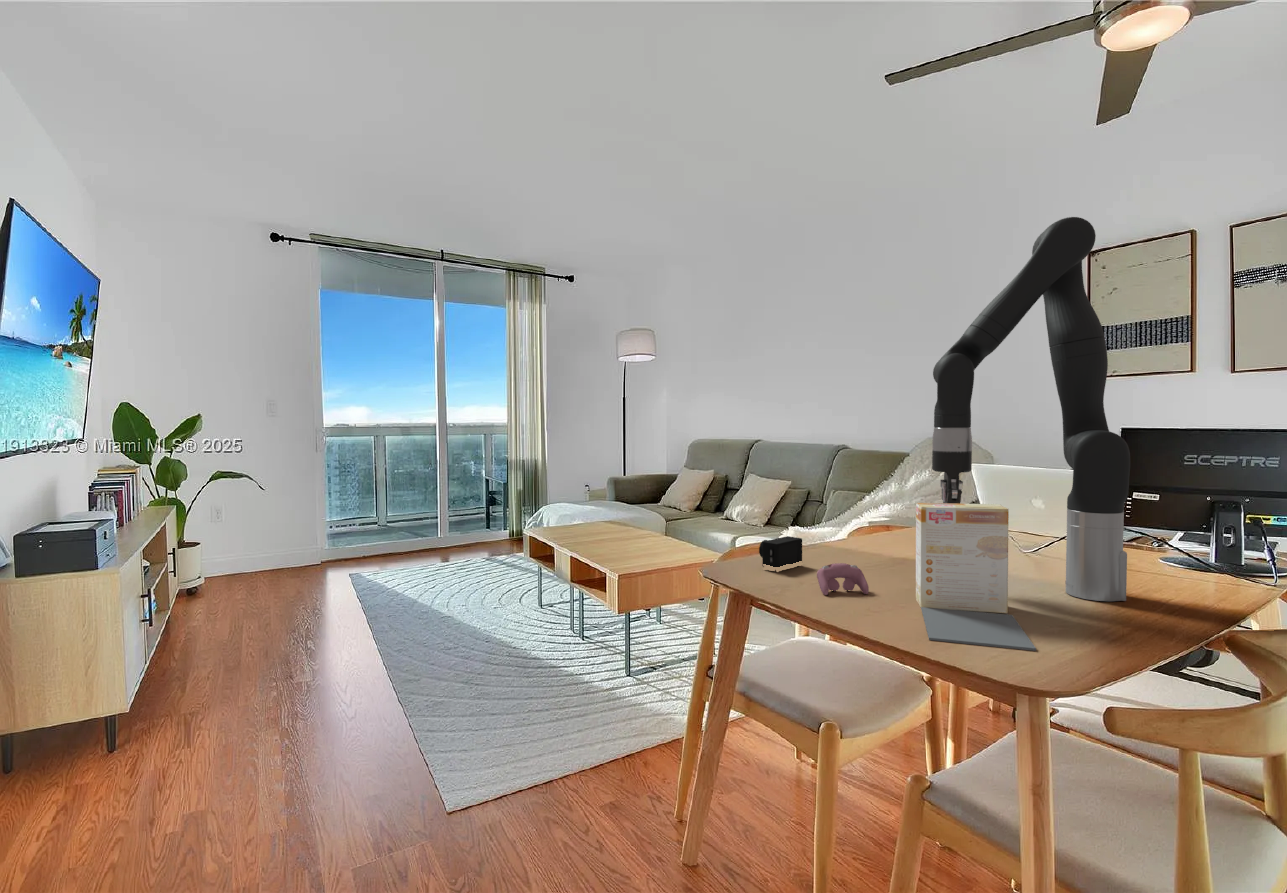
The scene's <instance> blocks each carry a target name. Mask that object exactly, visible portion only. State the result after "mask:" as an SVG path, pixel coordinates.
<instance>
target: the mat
mask: <svg viewBox="0 0 1287 893" xmlns="http://www.w3.org/2000/svg"><path fill="white" fill-rule="evenodd" d="M920 610H921V613H922V617H923V622H924V625H925V629H926V633H927V637H928V640H929V641H933V642H934V641H936V642H943V643H954V644H955V643H956V644H963V645H964V644H965V645H974V646H983V647H984V646H985V647H991V648H992V647H994V648H995V647H996V648H1003V649H1011V650H1012V649H1013V650H1014V649H1015V650H1022V651H1023V650H1024V651H1030V652H1031V651H1034V652H1037V648H1036V646H1035V645H1034V643H1033V642H1032V640H1030V638H1029V636H1028V635H1027V633H1025V630H1024V629H1023V628H1022V626H1021V625H1020V624H1019V622H1018V621H1017V619H1016V618H1015V617H1014V615H1013V614H1008V613H1007V614H1006V613H992V612H977V611H961V610H949V609H938V608H926V607H920Z"/></svg>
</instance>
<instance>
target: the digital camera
mask: <svg viewBox="0 0 1287 893" xmlns="http://www.w3.org/2000/svg"><path fill="white" fill-rule="evenodd" d="M758 554H759V555H760V557H761V558H762V560H761V562H762V565H763V564H766V565H770V566H773V567H780V566H783V565H786V564H793V563H796V562H799V561H802V562H803V538H802V537H796V536H788V535H787V536H783V537H777V538H774V539H769V540H768V539H764V540H762V541H761V542H760V544H759V546H758Z"/></svg>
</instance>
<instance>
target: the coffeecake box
mask: <svg viewBox="0 0 1287 893" xmlns="http://www.w3.org/2000/svg"><path fill="white" fill-rule="evenodd" d="M1009 510H1010V509H1009V508H1008V507H1005V506H1003V505H1002V504H998V503H960V504H958V503H943V502H916V505H915V600H916V602H917V603H918V605H919V607H920V608H921V607H926V608H938V609H949V610H961V611H972V612H984V613H995V614H1007V615H1008V612H1009V611H1008V609H1009Z"/></svg>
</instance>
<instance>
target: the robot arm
mask: <svg viewBox="0 0 1287 893" xmlns="http://www.w3.org/2000/svg"><path fill="white" fill-rule="evenodd" d="M1096 235H1097V234H1096V231H1095V229H1094V226H1093V224H1092V223H1091V222H1090V221H1089V220H1087V219H1084V218H1082V217H1078V216H1071V217H1070V216H1069V217H1064V218H1060V219H1059V220H1057V221H1055V222H1053V223H1052V224H1050V225H1049V226H1048V227H1047V228H1046V229H1045V230H1043V232H1041V233H1040V234H1039V236H1037V238H1036V240H1035V241H1034V243H1033V246H1032V250H1031V251H1032V252H1031V257H1030V258H1029V259H1028V260H1027V262H1026V264H1025V265H1024V266H1023V267H1022V269H1021V270H1020V271H1019V272H1018V273H1017V275H1016V276H1014V278H1013V279H1012V280H1011V281H1010V282H1009V283H1008V284H1007V285H1006V286H1005V287H1004V288H1003V289H1002V290H1001V291H999V293H998V294H997V295H996V296H995V297H994V298H993V299H992V300H991V301H990V302H989V303H988V304H987V305H986V307H985V308H983V309H982V311H980V313H979V314H978V315H977V317H976V318H975V319H974V320H973V321H972V322H971V324H970V325H969V326H968V327H967V329H966V330H965V331H964V333H963V334H962V335H961V337H960V338H959V339H958V340H957V341H956V342H955V343H954V344H953V345H952V346H951V347H950V348H949V349H948V350H947V351H946V352H945V353H944V354H943V355H942V356H941V358H939V360H938V361H937V362H936V364H935V365H934V367H933V370H932V376H933V379H934V382H935V383H936V384H937V386H936V387H937V388H936V390H937V391H936V393H937V394H936V396H937V398H936V403H935V405H934V411H933V434H932V441H931V442H932V446H931V447H932V452H931V455H932V456H931V458H932V462H931V469H932V471H934V472H938V473H944V474H943V479H940V482H939V484H940V488H941V501H942V503H958V504H961V503H962V494H963V491H962V490H963V486H964V484H963V483H964V481H963V480H962V479H960V474H961V473H970V472H971V471H972V470H973V469H972V466H973V464H972V461H973V459H972V458H973V457H972V456H973V436H972V428H971V427H972V409H971V408H972V407H971V406H972V405H971V403H972V398H973V397H972V396H973V389H974V385H975V384H974V382H975V370H976V369H977V367H979V365H980V364H981V363H982V362H983V360H985V358H987V356H990V355H991V354H992V353H993V352H994V351H996V350H997V348H998V347H999V346H1000V345H1001V344H1002V343H1003V342H1004V341H1005V340H1006V338H1007V337H1008V336H1009V335H1010V334H1011V333H1012V331H1013V330H1014V329H1015V328H1016V327H1017V325H1018V324H1019V323H1020V322H1021V321H1022V319H1023V318H1024V317H1025V316H1026V314H1027V313H1028V312H1029V311H1030V310H1031V309H1032V307H1033V306H1034V305H1035V303H1036V302H1038V301H1039V299H1040V298H1041V297H1043V302H1044V303H1043V304H1044V311H1045V312H1044V313H1045V314H1044V315H1045V322H1046V323H1045V324H1046V332H1047V339H1048V347H1049V353H1050V360H1051V366H1052V370H1053V376H1054V380H1055V387H1056V391H1057V395H1058V399H1059V403H1060V406H1061V409H1060V410H1061V416H1062V440H1063V441H1062V442H1063V445H1062V446H1063V456H1064V459H1065V461H1066V464H1067V465H1068V466H1069V467H1070V468H1071V469H1072V470H1073V471H1072V485H1071V486H1072V487H1071V490H1070V492H1069V494H1068V496H1067V499H1066V540H1065V541H1066V542H1065V543H1066V546H1065V548H1066V551H1065V593H1066V594H1068V595H1070V596H1072V597H1076V598H1079V599H1084V600H1088V601H1089V600H1090V601H1096V602H1097V601H1098V602H1099V601H1100V602H1120V601H1123V602H1126V601H1127V582H1128V581H1127V577H1128V576H1127V575H1128V572H1127V571H1128V553H1127V552H1126V551H1125V550H1124V530H1125V528H1124V526H1125V525H1124V520H1125V518H1124V517H1125V503H1126V501H1127V498H1128V496H1129V489H1130V474H1131V472H1130V471H1131V452H1130V448H1129V445H1128V443H1127V442H1126V440H1125V439H1124V438H1123V437H1122V436H1121V435H1119V434H1118V433H1115V432H1112V431H1110V429H1109V426H1108V421H1107V417H1106V413H1105V412H1106V411H1105V407H1104V406H1105V405H1104V396H1105V389H1106V383H1107V376H1108V369H1109V368H1108V366H1109V362H1108V361H1109V360H1108V350H1107V345H1106V338H1105V332H1104V328H1103V326H1102V323H1101V322H1100V319H1099V317H1098V314H1097V312H1096V311H1095V308H1094V307H1093V306H1092V303H1091V302H1090V300H1089V298H1088V296H1087V292H1086V290H1085V283H1084V273H1083V260H1084V259H1085V258H1086V257H1087V256H1088V255H1089V254H1090V253H1091V252H1092V250H1093V247H1094V246H1095V243H1096V242H1095V241H1096V238H1097V237H1096Z"/></svg>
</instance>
